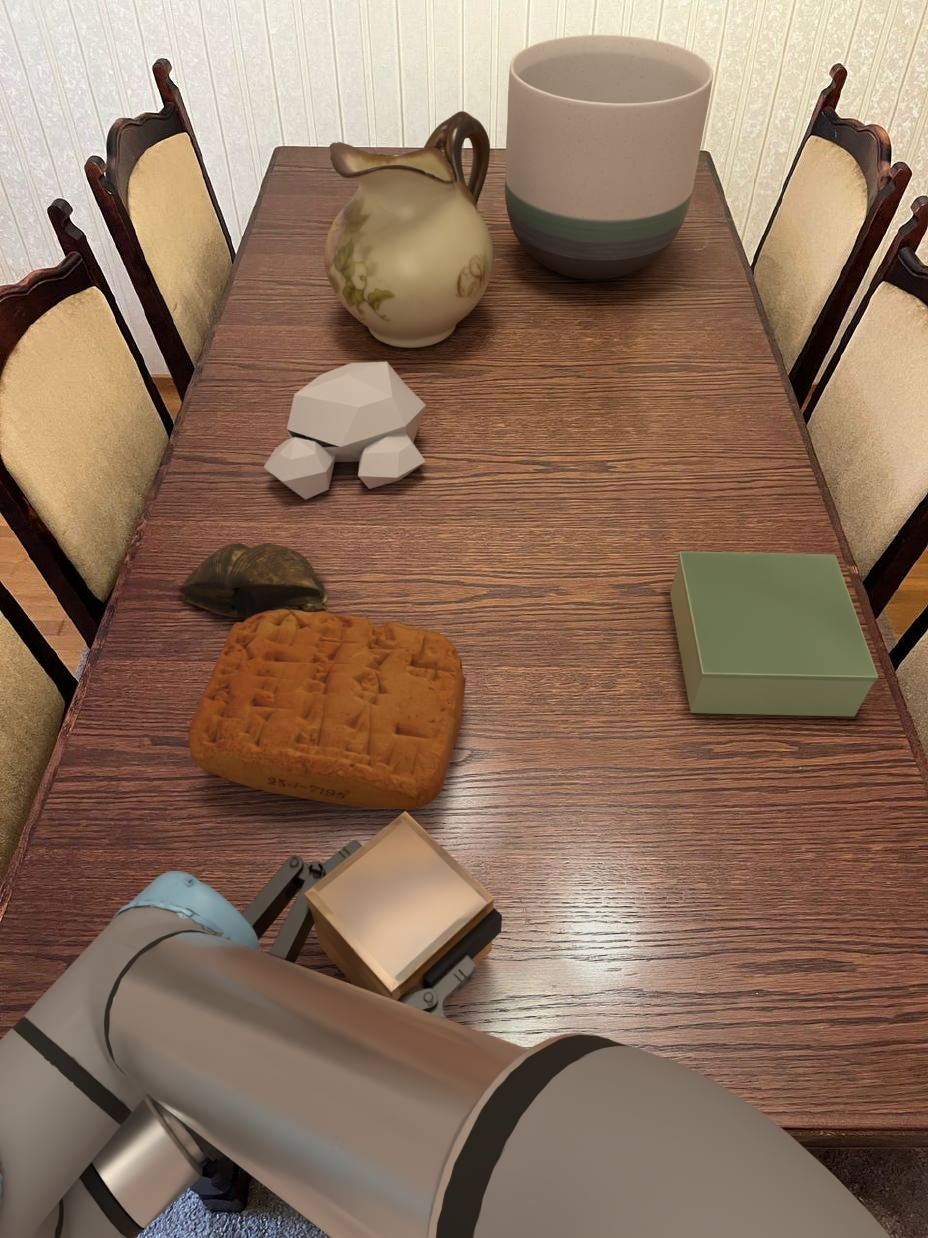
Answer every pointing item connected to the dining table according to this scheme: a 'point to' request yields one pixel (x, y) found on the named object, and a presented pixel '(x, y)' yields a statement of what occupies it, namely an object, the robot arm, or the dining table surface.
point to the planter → (602, 150)
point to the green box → (769, 635)
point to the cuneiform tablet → (332, 709)
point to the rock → (350, 429)
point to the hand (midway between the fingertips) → (449, 872)
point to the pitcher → (412, 236)
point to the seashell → (254, 582)
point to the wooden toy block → (396, 909)
